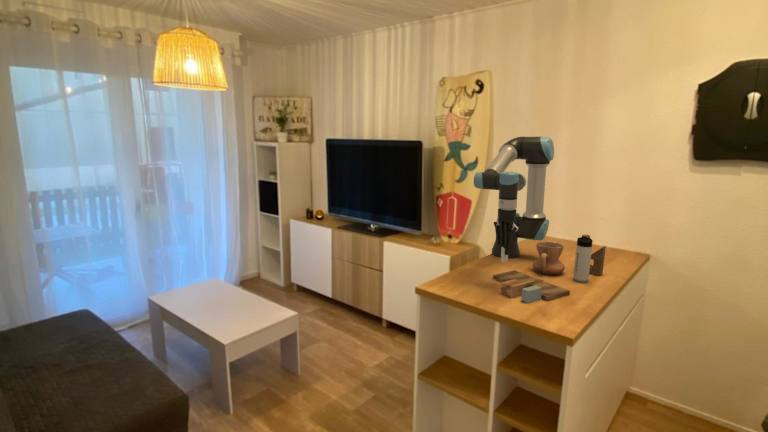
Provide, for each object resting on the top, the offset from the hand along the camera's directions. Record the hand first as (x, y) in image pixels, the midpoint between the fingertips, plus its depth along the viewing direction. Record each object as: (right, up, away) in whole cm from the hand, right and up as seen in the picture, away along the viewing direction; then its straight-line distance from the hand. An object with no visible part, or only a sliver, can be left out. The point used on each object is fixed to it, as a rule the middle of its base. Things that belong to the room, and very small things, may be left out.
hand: (504, 261), depth 178 cm
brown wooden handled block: (+5, -13, -6) cm, 15 cm away
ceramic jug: (+27, -8, +20) cm, 34 cm away
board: (+11, -11, +1) cm, 16 cm away
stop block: (+7, -14, -14) cm, 21 cm away
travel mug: (+38, -10, +9) cm, 40 cm away
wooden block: (+47, -8, +20) cm, 52 cm away
